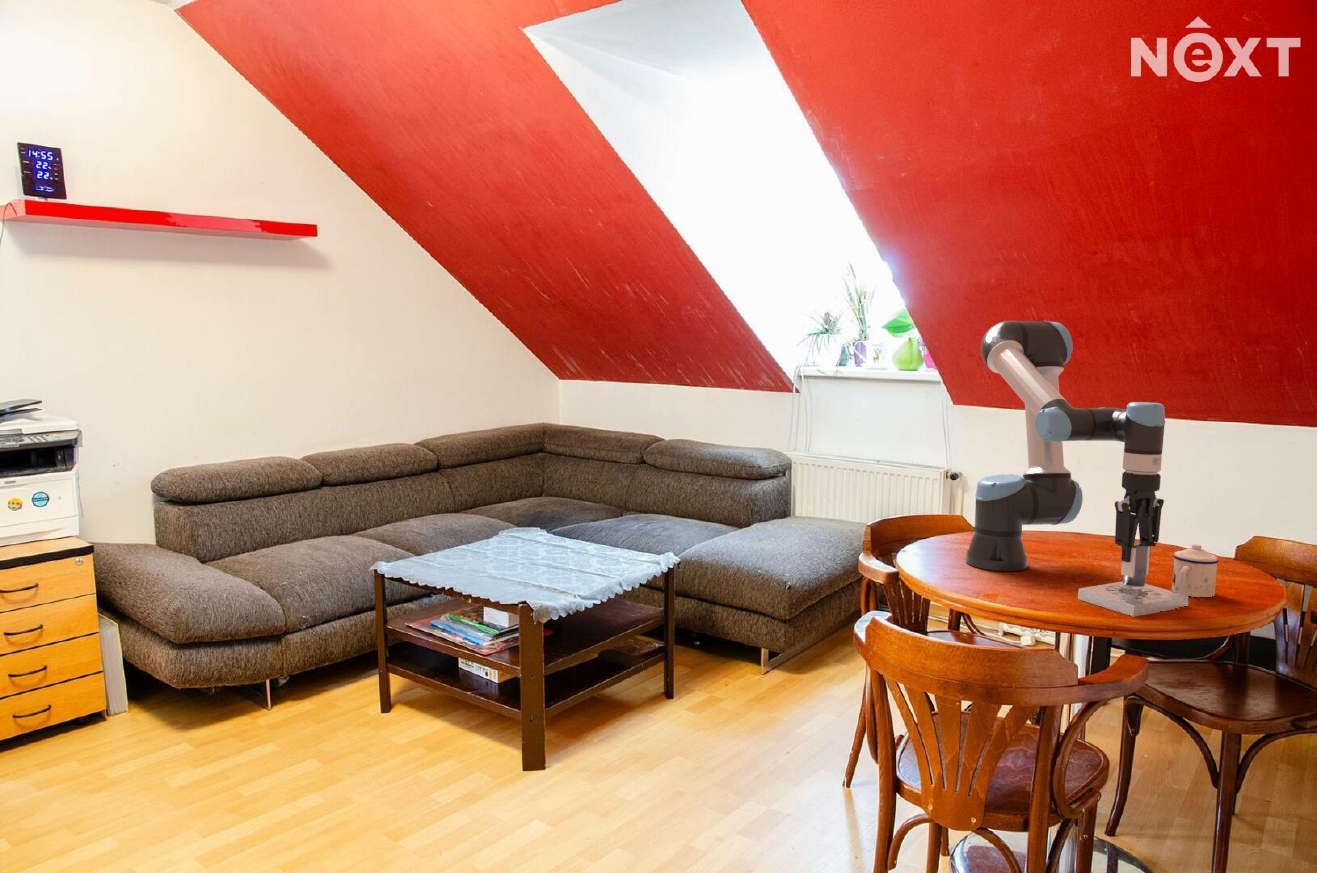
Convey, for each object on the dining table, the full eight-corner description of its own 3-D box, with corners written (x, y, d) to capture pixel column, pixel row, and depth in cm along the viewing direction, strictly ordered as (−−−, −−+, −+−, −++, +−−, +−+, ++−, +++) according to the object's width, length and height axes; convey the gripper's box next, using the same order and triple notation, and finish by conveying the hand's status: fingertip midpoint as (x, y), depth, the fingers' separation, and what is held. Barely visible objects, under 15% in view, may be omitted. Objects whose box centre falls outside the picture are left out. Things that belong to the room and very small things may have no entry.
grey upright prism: (1118, 582, 203) (1121, 543, 202) (1131, 580, 205) (1134, 542, 204) (1135, 587, 199) (1138, 547, 198) (1149, 585, 201) (1152, 546, 200)
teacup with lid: (1179, 585, 217) (1183, 538, 216) (1221, 594, 210) (1225, 545, 209) (1159, 594, 210) (1163, 545, 208) (1202, 603, 203) (1206, 553, 201)
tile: (1077, 599, 205) (1078, 588, 205) (1130, 590, 213) (1131, 580, 213) (1133, 616, 193) (1134, 605, 192) (1187, 606, 200) (1188, 595, 200)
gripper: (1131, 476, 192) (1123, 583, 195) (1182, 472, 200) (1175, 574, 202) (1100, 471, 199) (1093, 574, 201) (1151, 467, 206) (1144, 567, 209)
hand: (1134, 574), depth 202 cm, fingers closed on grey upright prism, 4 cm apart
